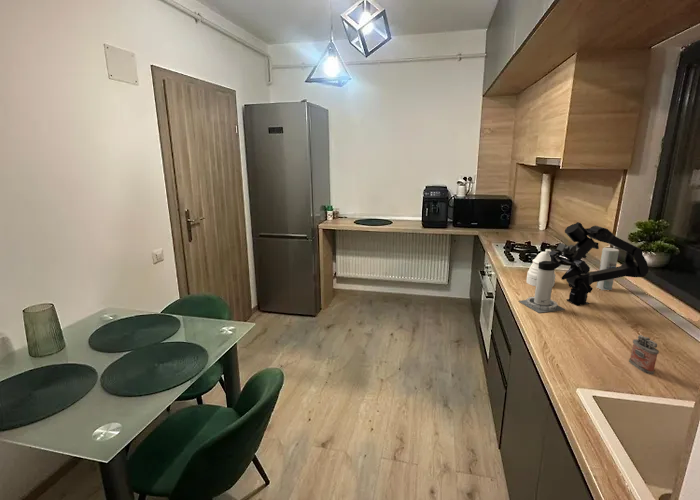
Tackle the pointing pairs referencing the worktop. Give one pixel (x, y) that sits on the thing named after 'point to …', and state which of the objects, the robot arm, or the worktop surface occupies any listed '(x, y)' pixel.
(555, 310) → the base mat
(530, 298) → the metal collar
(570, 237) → the robot arm
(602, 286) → the spray can
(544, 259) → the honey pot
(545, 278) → the travel mug
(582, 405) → the worktop surface
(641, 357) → the red and grey container
